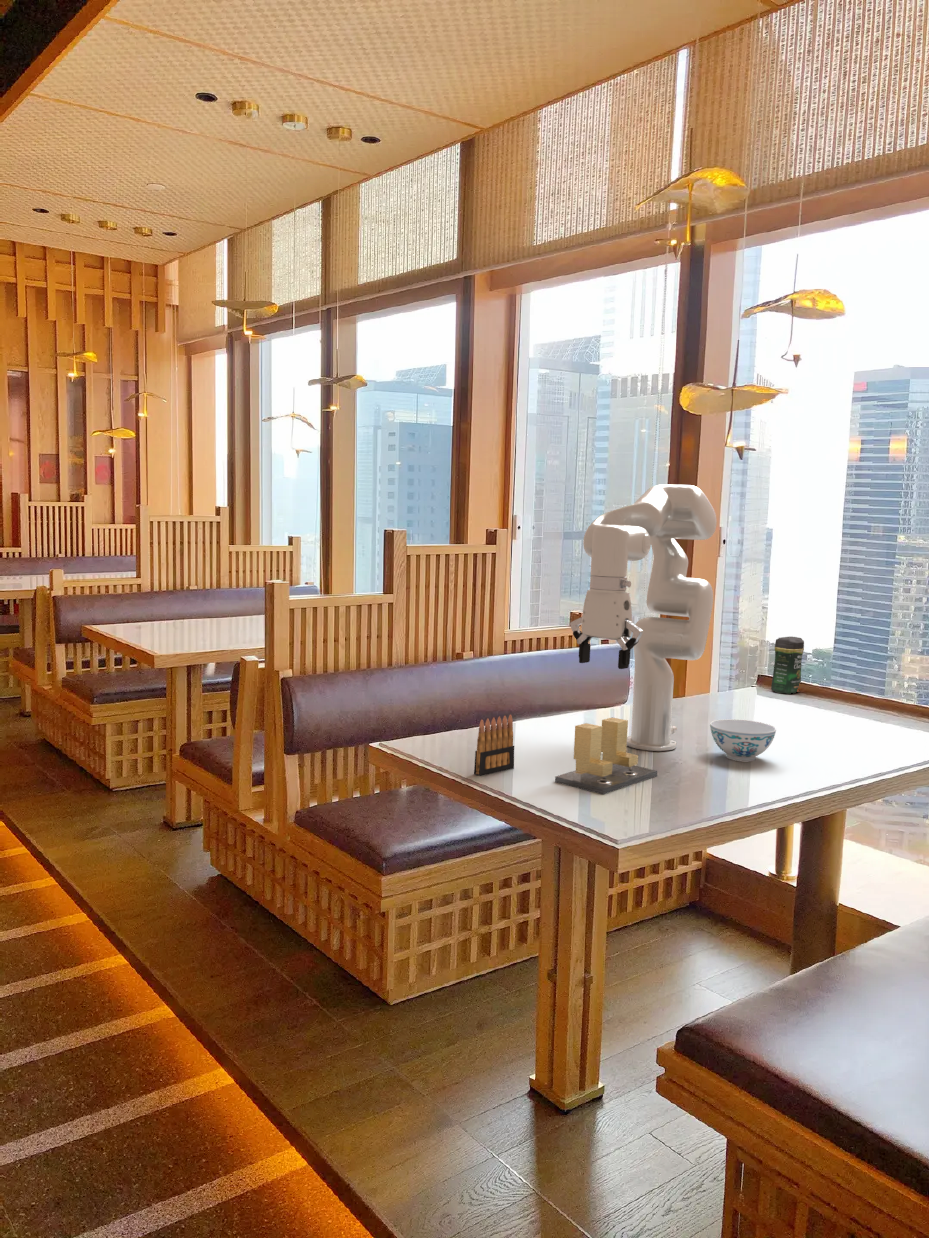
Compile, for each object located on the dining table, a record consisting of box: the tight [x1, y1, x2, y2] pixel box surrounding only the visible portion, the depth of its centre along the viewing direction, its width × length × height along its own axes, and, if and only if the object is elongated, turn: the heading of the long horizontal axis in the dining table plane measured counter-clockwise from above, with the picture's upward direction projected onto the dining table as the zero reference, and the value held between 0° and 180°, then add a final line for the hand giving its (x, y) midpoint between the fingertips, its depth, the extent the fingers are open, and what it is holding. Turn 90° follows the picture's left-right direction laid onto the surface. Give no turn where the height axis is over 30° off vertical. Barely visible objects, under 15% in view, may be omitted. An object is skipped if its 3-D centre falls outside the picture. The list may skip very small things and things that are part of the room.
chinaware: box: [709, 718, 777, 762], centre depth 232 cm, size 15×15×8 cm
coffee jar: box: [770, 636, 805, 695], centre depth 325 cm, size 10×8×19 cm
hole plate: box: [554, 722, 658, 795], centre depth 209 cm, size 21×12×12 cm, turn 139°
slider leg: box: [601, 717, 639, 771], centre depth 211 cm, size 4×7×10 cm, turn 49°
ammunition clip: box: [473, 714, 515, 777], centre depth 212 cm, size 11×2×12 cm, turn 134°
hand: (603, 665), depth 209 cm, fingers open, 9 cm apart
